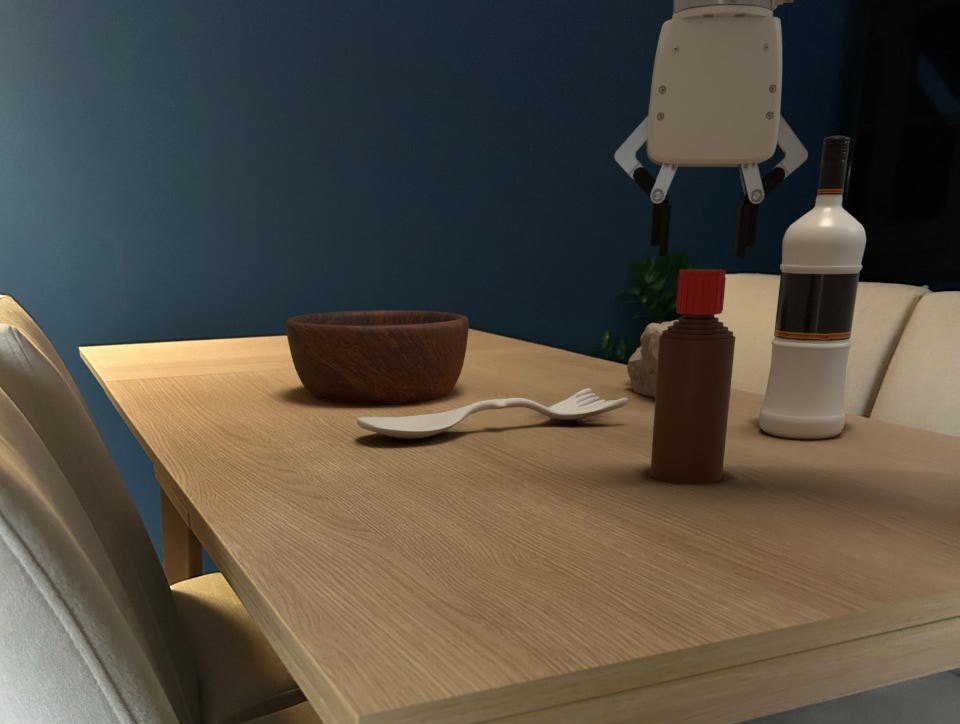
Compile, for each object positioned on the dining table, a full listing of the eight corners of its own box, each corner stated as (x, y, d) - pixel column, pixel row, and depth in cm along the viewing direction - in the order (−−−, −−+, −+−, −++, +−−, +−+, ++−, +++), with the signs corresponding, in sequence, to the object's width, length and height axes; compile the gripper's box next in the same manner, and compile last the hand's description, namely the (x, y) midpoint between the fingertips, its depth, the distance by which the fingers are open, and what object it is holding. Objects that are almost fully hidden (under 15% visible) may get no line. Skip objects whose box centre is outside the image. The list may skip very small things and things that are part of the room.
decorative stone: (727, 410, 124) (735, 328, 120) (671, 412, 122) (678, 329, 118) (666, 386, 142) (671, 314, 138) (617, 388, 140) (621, 316, 136)
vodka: (760, 439, 107) (793, 133, 95) (755, 423, 115) (786, 140, 103) (848, 442, 105) (893, 130, 93) (837, 426, 113) (877, 138, 102)
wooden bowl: (322, 379, 150) (317, 309, 146) (482, 382, 146) (481, 310, 142) (264, 407, 127) (257, 325, 123) (451, 411, 123) (450, 327, 119)
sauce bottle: (718, 477, 91) (737, 273, 84) (724, 494, 85) (745, 277, 78) (649, 475, 92) (662, 273, 85) (650, 492, 86) (664, 277, 79)
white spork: (629, 424, 115) (630, 395, 113) (374, 451, 102) (373, 417, 101) (588, 412, 122) (589, 384, 121) (347, 435, 109) (345, 404, 108)
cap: (720, 311, 84) (724, 269, 83) (724, 315, 80) (728, 271, 79) (675, 310, 85) (678, 269, 83) (676, 314, 81) (680, 271, 80)
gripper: (831, 8, 76) (799, 256, 83) (610, 13, 78) (598, 254, 85) (850, -13, 69) (814, 259, 76) (608, -7, 71) (595, 256, 79)
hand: (700, 254), depth 81 cm, fingers open, 5 cm apart
